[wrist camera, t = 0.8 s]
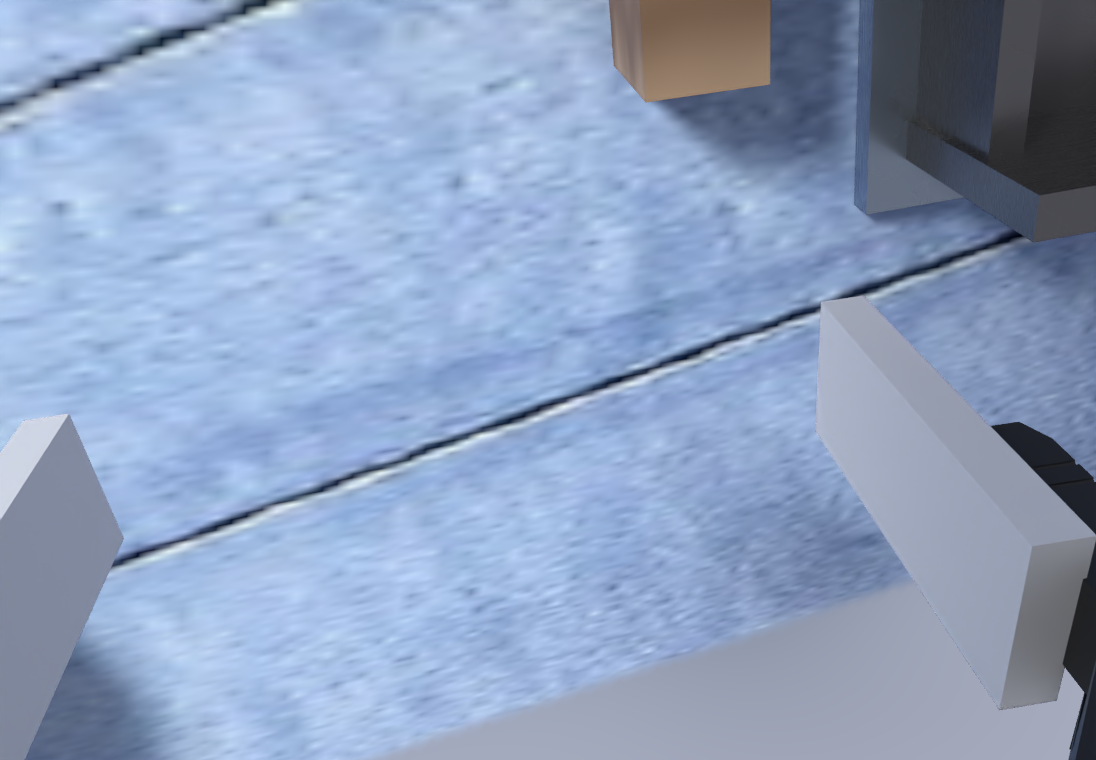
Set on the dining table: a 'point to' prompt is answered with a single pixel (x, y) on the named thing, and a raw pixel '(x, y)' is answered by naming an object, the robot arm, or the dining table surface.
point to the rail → (691, 45)
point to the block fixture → (980, 110)
